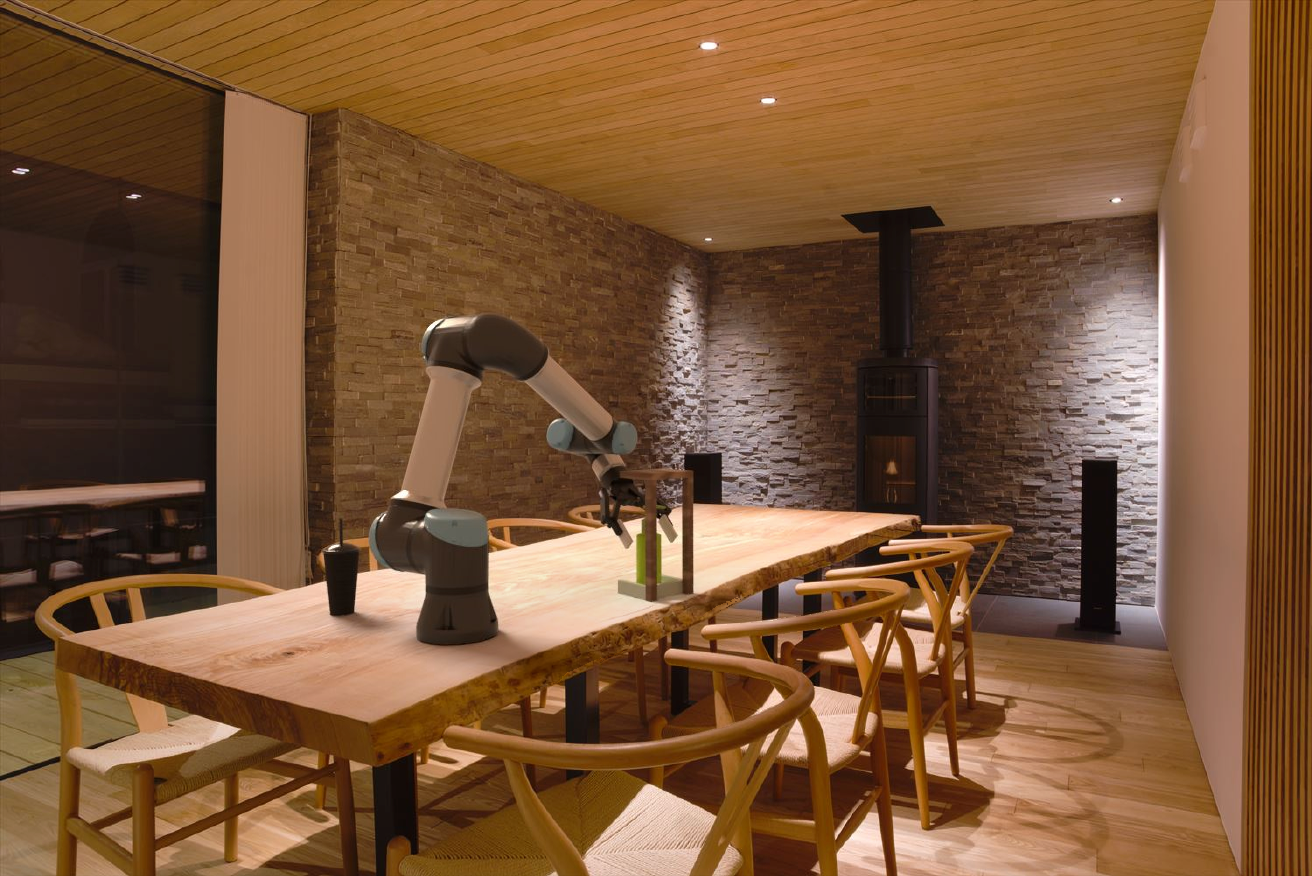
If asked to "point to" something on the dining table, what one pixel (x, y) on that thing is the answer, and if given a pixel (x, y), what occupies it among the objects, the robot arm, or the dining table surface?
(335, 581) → the drinking cup
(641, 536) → the soap dispenser
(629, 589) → the holder
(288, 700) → the dining table surface
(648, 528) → the wooden post arch
